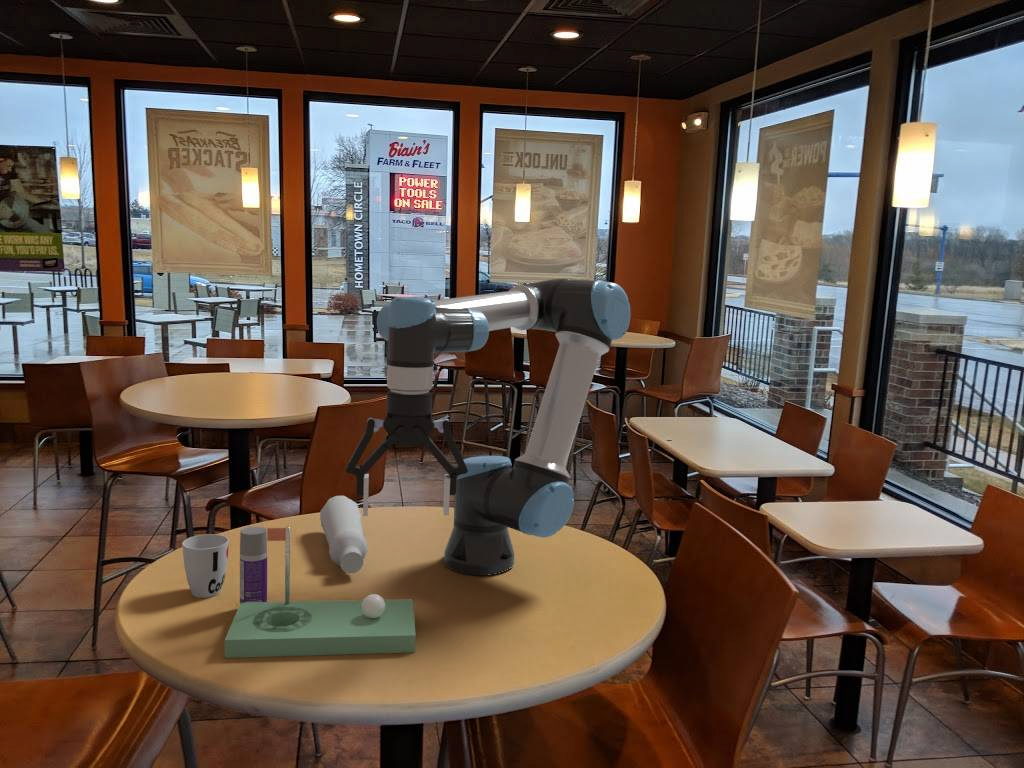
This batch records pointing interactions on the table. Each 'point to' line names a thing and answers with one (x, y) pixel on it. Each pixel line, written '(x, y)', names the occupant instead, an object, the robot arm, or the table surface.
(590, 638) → the table surface
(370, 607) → the ball
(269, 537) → the flag pin
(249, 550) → the container
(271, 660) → the table surface
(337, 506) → the bottle
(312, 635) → the green
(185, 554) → the cup
